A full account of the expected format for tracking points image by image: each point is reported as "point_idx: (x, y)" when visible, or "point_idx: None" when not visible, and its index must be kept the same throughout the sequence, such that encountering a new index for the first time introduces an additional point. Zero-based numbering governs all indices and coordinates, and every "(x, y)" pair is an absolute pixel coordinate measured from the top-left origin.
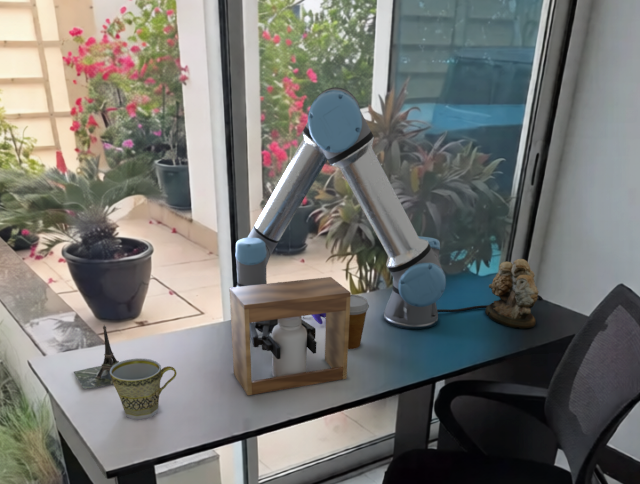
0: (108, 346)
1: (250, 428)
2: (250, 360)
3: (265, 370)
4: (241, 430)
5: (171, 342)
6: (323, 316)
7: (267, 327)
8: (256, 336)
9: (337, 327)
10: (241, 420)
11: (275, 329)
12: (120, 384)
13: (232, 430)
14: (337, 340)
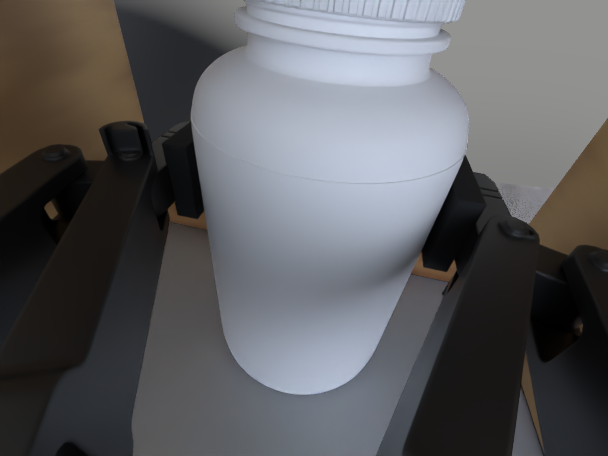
0: None
1: (502, 184)
2: (575, 162)
3: (380, 442)
4: (522, 188)
5: None
6: None
7: (442, 404)
8: (596, 250)
9: (47, 33)
10: (523, 208)
11: (458, 92)
12: None
13: (543, 195)
14: (84, 113)
